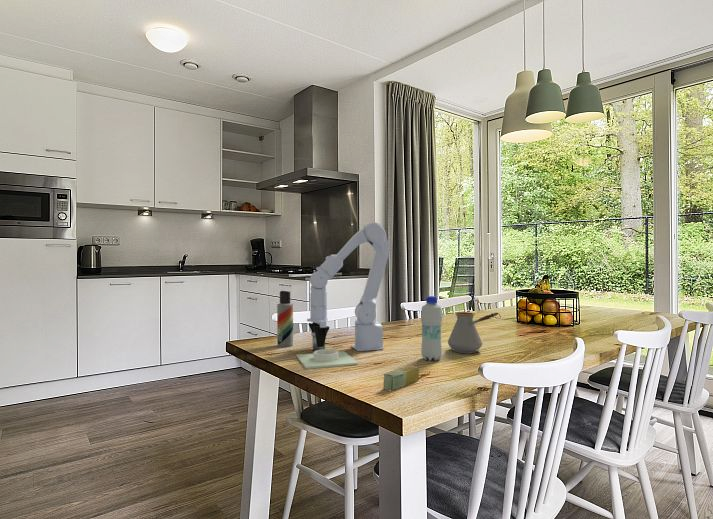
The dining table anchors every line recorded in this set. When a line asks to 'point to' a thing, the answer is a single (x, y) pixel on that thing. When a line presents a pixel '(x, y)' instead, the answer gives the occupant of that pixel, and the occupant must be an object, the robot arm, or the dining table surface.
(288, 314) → the lotion bottle
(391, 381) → the medication box
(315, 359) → the duct flange
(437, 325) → the bottle
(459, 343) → the coffee pot
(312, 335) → the silver canister
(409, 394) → the dining table surface
